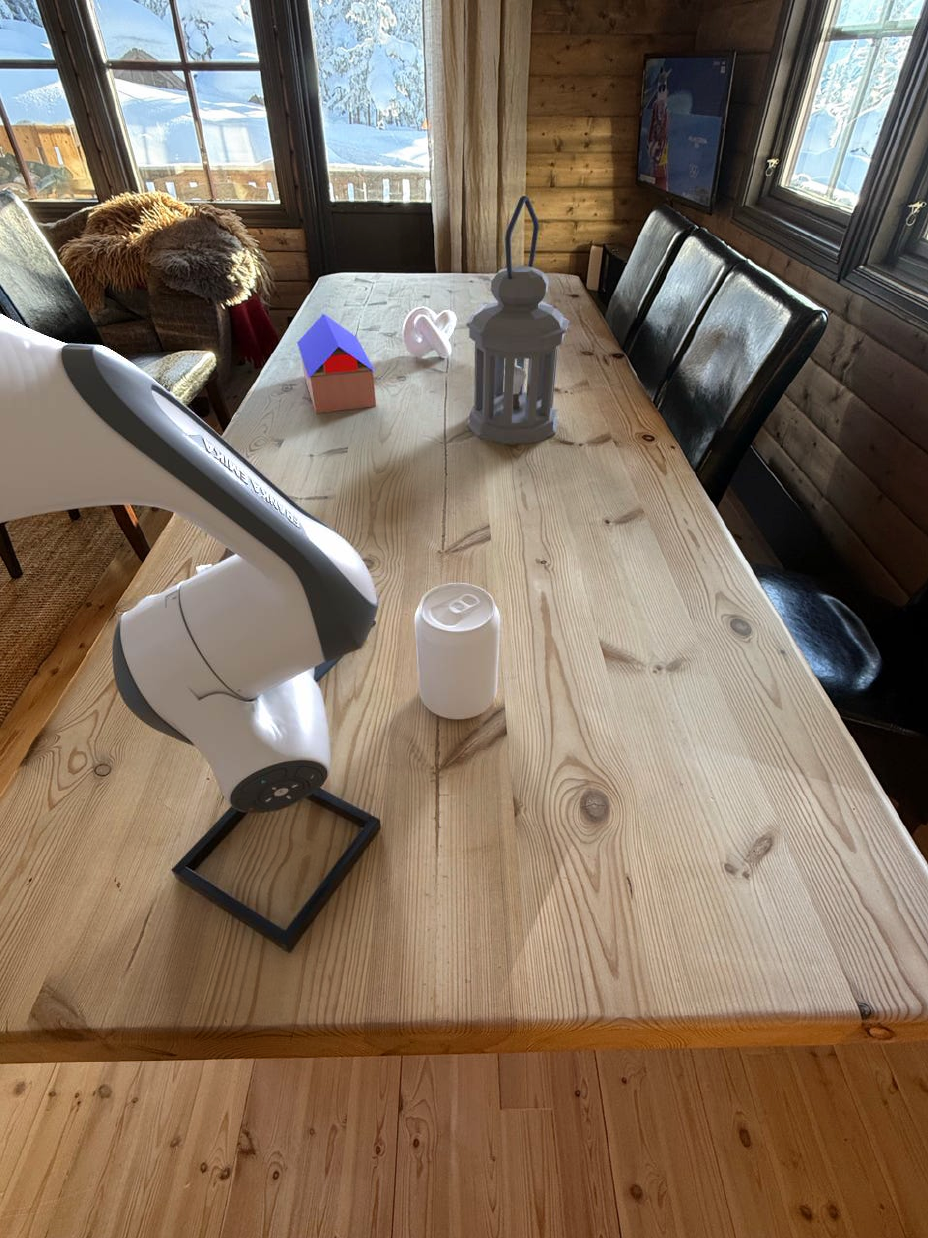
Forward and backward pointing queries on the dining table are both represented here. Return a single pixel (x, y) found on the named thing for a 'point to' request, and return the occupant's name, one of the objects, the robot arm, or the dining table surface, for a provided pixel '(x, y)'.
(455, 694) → the beverage can
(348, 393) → the house
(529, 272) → the lantern
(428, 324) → the white knot sculpture
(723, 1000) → the dining table surface
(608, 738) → the dining table surface
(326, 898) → the black open square frame
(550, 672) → the dining table surface
